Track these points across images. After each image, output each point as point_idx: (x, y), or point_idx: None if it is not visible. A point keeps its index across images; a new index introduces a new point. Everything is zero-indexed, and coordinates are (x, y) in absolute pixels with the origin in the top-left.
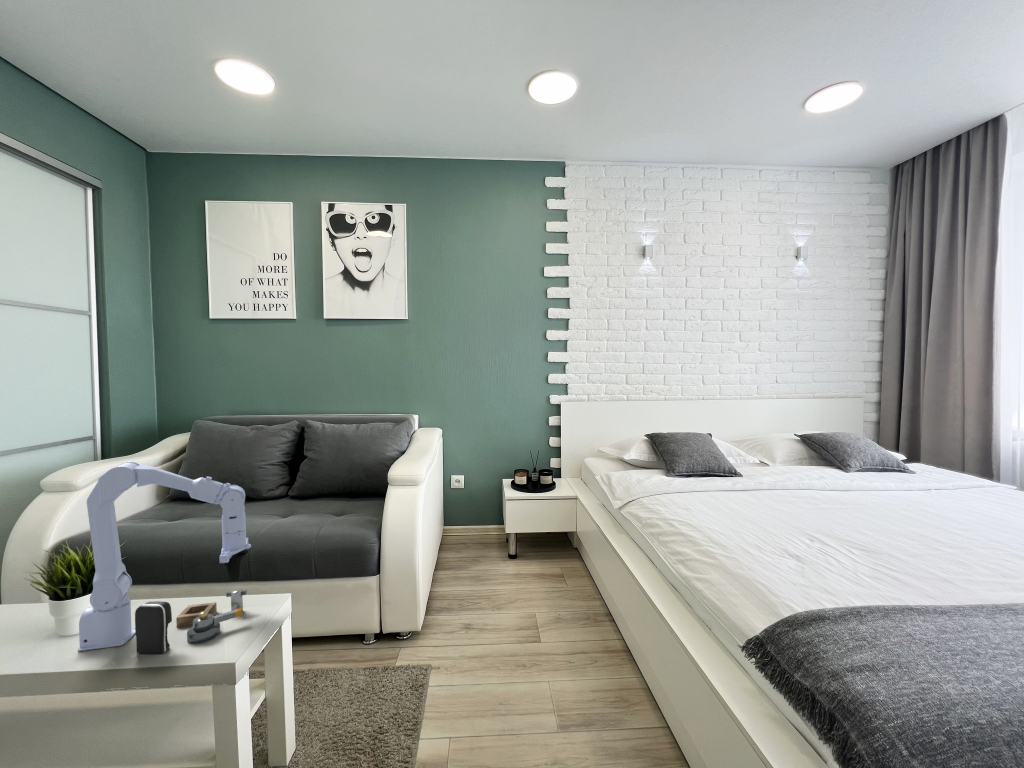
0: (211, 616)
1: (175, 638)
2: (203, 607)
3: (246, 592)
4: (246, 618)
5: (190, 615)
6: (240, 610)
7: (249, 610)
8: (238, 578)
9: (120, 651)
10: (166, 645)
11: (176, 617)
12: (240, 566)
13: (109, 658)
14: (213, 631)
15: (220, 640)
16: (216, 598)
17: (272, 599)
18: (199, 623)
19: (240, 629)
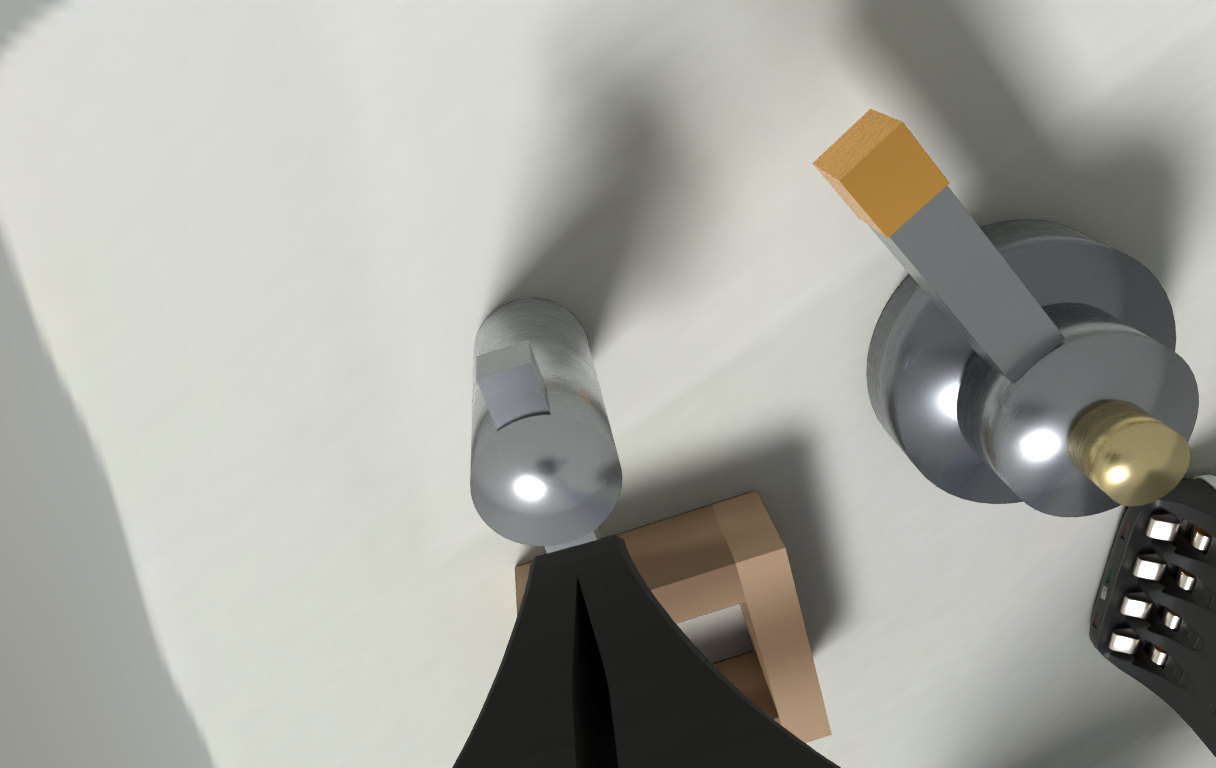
0: (1072, 378)
1: (981, 553)
2: None
3: (487, 359)
4: (663, 153)
5: (804, 657)
6: (913, 138)
7: (470, 247)
8: (625, 552)
9: (1087, 752)
10: (1214, 500)
11: (826, 735)
12: (698, 688)
13: (1162, 744)
14: (1107, 246)
15: (1112, 129)
16: (252, 744)
17: (137, 130)
18: (1193, 400)
19: (916, 54)
